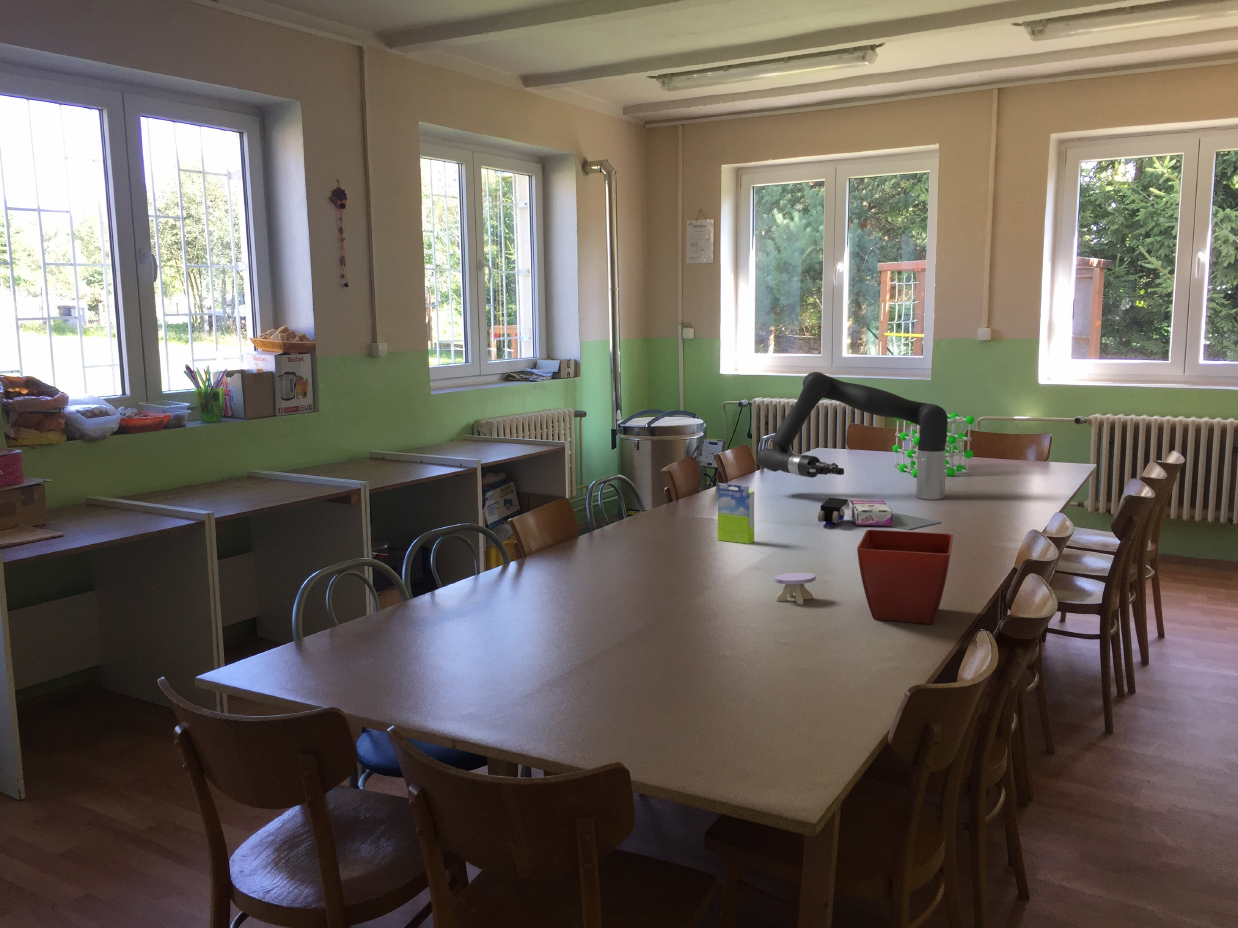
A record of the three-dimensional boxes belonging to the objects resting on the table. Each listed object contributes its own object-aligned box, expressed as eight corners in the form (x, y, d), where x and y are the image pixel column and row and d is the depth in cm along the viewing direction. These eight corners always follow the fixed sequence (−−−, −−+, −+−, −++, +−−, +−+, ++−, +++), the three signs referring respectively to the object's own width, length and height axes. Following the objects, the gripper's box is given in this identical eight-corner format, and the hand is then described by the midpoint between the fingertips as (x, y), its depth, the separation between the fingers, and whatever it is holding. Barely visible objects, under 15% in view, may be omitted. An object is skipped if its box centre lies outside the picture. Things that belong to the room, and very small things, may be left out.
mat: (894, 513, 321) (894, 512, 321) (940, 522, 307) (940, 521, 307) (862, 520, 312) (862, 519, 312) (908, 530, 298) (908, 528, 298)
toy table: (811, 593, 234) (812, 570, 233) (819, 605, 225) (820, 581, 224) (770, 594, 234) (771, 571, 233) (777, 605, 225) (777, 581, 224)
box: (755, 541, 286) (755, 483, 284) (749, 544, 283) (749, 486, 280) (722, 537, 292) (722, 481, 289) (716, 540, 288) (716, 483, 286)
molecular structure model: (890, 468, 411) (892, 411, 408) (947, 466, 414) (949, 410, 410) (913, 478, 388) (915, 417, 384) (973, 476, 390) (976, 416, 386)
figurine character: (838, 534, 300) (849, 519, 313) (838, 510, 298) (849, 496, 311) (816, 532, 303) (828, 517, 316) (816, 509, 301) (827, 495, 314)
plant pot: (854, 622, 212) (856, 547, 209) (865, 598, 229) (866, 528, 227) (947, 631, 205) (950, 554, 202) (950, 605, 223) (953, 533, 220)
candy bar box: (848, 514, 319) (855, 525, 303) (849, 499, 319) (856, 509, 302) (883, 515, 318) (892, 525, 302) (884, 500, 318) (893, 510, 301)
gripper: (791, 456, 336) (829, 462, 322) (817, 453, 344) (855, 458, 330) (790, 478, 337) (829, 485, 324) (816, 474, 345) (855, 480, 331)
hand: (842, 471), depth 327 cm, fingers closed
